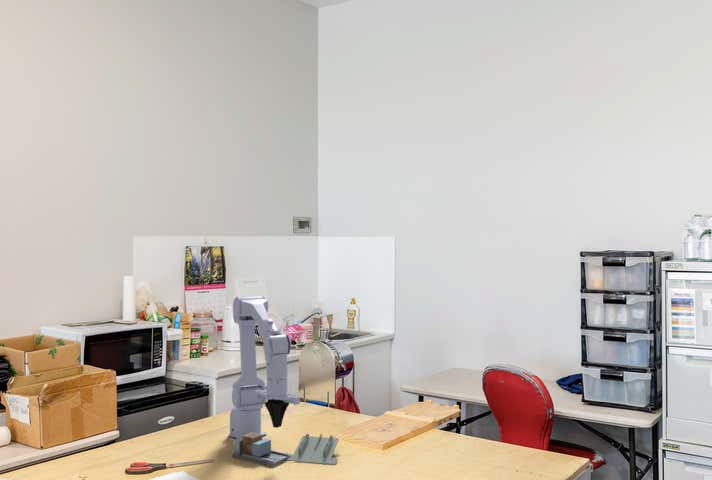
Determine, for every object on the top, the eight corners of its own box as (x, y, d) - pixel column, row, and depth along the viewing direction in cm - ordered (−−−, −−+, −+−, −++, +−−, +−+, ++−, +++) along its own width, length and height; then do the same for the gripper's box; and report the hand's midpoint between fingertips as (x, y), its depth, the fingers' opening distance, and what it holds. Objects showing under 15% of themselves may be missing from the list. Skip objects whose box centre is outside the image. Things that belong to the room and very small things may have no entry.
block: (242, 453, 192) (242, 435, 192) (251, 449, 195) (251, 432, 195) (253, 455, 190) (253, 438, 190) (262, 451, 193) (262, 434, 193)
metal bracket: (296, 428, 200) (345, 432, 197) (298, 445, 202) (347, 449, 198) (281, 457, 187) (333, 461, 183) (283, 475, 189) (335, 480, 185)
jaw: (251, 455, 189) (251, 443, 189) (263, 450, 194) (263, 438, 194) (259, 457, 188) (259, 444, 188) (271, 451, 192) (271, 439, 192)
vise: (231, 457, 192) (231, 440, 192) (249, 449, 198) (249, 433, 198) (273, 467, 184) (273, 449, 184) (290, 458, 190) (289, 441, 190)
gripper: (247, 377, 188) (247, 426, 188) (288, 384, 180) (289, 434, 180) (263, 372, 194) (264, 419, 194) (304, 378, 186) (304, 427, 186)
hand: (277, 426), depth 187 cm, fingers closed
